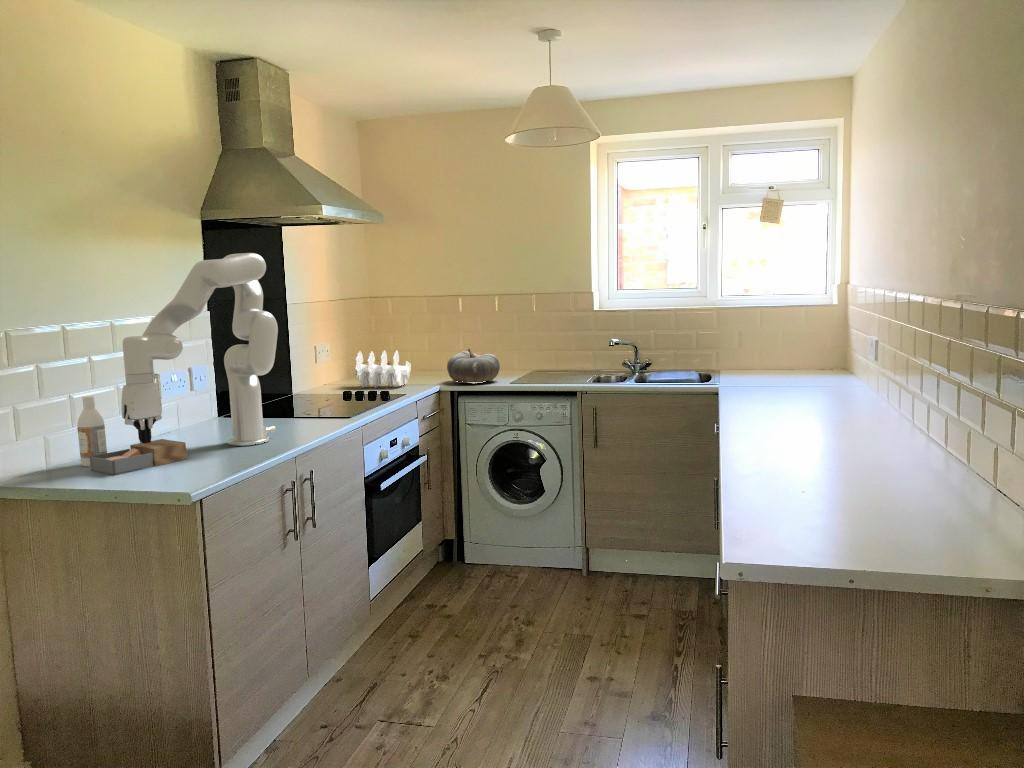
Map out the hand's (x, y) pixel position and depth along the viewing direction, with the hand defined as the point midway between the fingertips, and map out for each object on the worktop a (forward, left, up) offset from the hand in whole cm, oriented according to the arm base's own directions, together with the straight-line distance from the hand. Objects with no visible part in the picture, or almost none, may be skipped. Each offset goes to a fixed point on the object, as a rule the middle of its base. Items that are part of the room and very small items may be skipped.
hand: (145, 442), depth 231 cm
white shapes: (-152, -51, -6) cm, 160 cm away
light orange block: (+9, 0, -3) cm, 10 cm away
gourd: (-182, -19, -6) cm, 183 cm away
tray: (+7, 0, -6) cm, 10 cm away
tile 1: (+4, +1, -5) cm, 6 cm away
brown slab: (-4, 0, -6) cm, 7 cm away
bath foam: (+8, -13, -6) cm, 17 cm away
